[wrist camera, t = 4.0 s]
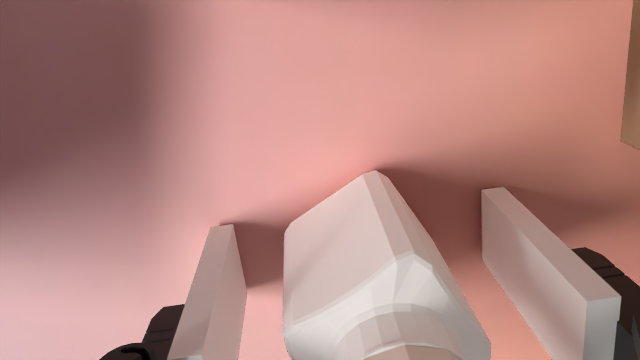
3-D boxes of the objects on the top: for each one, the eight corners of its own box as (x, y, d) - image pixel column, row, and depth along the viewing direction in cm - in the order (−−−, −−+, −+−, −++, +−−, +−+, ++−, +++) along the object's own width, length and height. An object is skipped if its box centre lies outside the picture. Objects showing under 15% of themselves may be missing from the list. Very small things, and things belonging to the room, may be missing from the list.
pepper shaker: (437, 244, 18) (581, 497, 9) (343, 303, 19) (393, 593, 10) (374, 157, 17) (473, 353, 8) (277, 224, 17) (265, 474, 8)
